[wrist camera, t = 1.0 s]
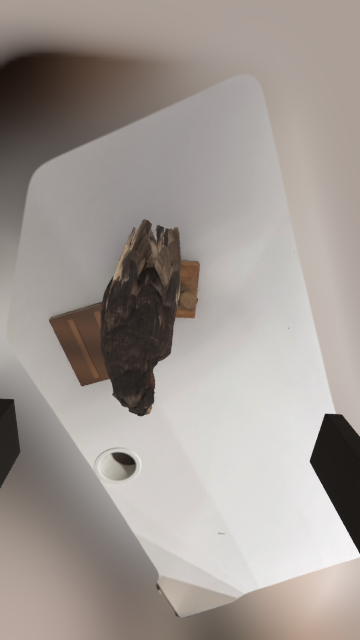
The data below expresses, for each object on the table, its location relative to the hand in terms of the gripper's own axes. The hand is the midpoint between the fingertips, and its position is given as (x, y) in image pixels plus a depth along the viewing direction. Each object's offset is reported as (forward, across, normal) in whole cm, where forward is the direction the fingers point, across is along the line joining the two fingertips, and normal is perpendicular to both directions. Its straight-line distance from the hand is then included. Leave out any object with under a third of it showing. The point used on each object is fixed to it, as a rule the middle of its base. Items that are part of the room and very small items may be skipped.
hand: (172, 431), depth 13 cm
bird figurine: (+33, -1, 0) cm, 33 cm away
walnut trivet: (+33, -10, -13) cm, 37 cm away
